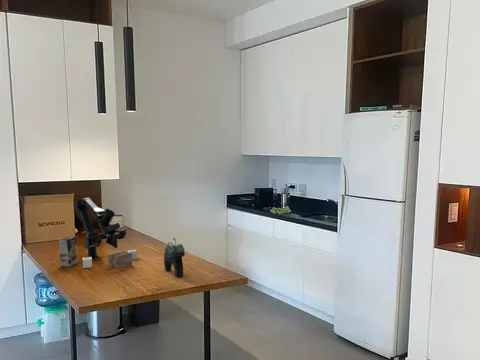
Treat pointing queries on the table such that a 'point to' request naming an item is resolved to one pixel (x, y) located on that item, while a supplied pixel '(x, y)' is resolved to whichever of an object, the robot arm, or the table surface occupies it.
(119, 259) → the plain walnut block
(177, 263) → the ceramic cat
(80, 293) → the table surface
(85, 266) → the offwhite numeral block
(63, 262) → the coffee box
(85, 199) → the robot arm
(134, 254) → the grey numeral block
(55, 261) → the table surface
